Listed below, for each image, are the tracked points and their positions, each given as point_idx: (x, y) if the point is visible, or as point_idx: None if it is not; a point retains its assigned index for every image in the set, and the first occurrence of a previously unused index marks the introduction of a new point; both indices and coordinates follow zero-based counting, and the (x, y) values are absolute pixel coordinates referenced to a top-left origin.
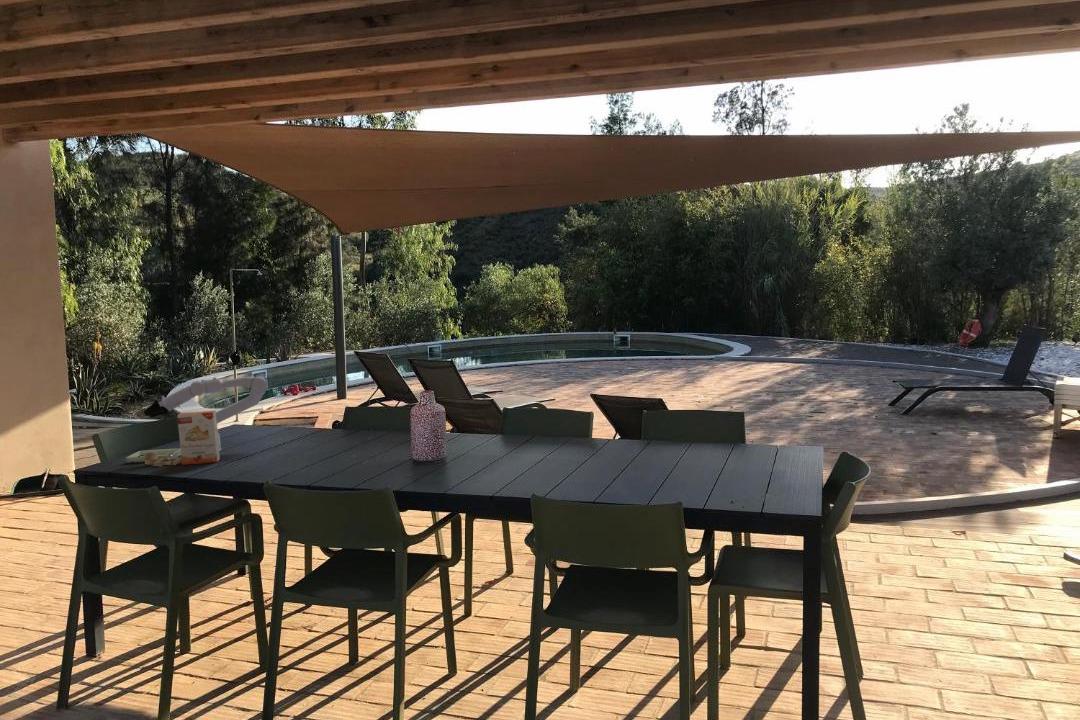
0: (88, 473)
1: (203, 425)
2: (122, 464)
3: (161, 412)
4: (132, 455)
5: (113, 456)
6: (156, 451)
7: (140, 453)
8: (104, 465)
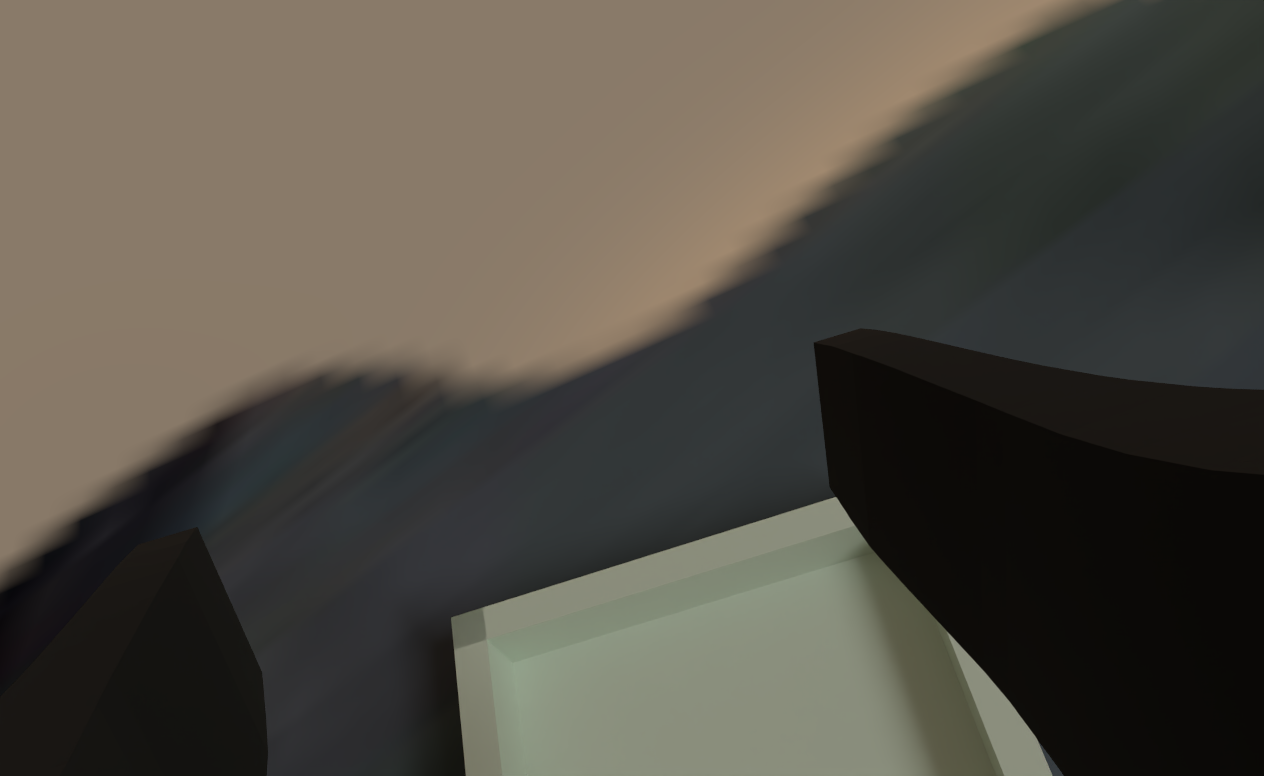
0: (94, 547)
1: None
2: None
3: (1100, 767)
4: (608, 602)
5: (917, 165)
6: (996, 763)
7: None
8: (448, 427)
